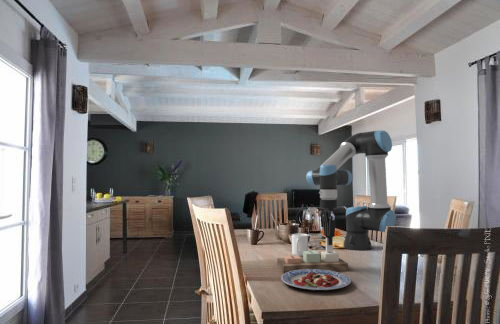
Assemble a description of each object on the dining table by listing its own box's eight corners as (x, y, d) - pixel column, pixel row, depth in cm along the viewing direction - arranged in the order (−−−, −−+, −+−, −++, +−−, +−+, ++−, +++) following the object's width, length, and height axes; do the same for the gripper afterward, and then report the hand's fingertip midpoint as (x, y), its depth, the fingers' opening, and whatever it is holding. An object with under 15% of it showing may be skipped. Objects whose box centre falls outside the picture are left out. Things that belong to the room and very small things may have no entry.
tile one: (334, 260, 156) (333, 250, 156) (338, 263, 150) (338, 253, 151) (321, 261, 156) (321, 251, 156) (325, 264, 150) (325, 254, 150)
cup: (309, 253, 181) (308, 233, 182) (305, 258, 170) (305, 237, 170) (293, 252, 184) (293, 233, 184) (289, 257, 172) (288, 236, 173)
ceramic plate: (303, 270, 148) (303, 263, 148) (361, 281, 131) (361, 273, 131) (267, 285, 128) (267, 277, 128) (331, 301, 111) (331, 291, 112)
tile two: (315, 260, 155) (315, 250, 156) (320, 263, 149) (319, 253, 150) (303, 261, 155) (302, 250, 155) (306, 264, 149) (306, 253, 149)
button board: (336, 262, 160) (336, 256, 161) (348, 270, 147) (347, 263, 147) (277, 264, 157) (277, 258, 157) (283, 273, 143) (283, 265, 144)
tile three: (297, 265, 154) (297, 255, 155) (301, 268, 148) (300, 258, 149) (284, 265, 154) (284, 255, 154) (287, 269, 148) (287, 258, 148)
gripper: (316, 198, 160) (316, 249, 159) (325, 199, 147) (326, 255, 146) (331, 198, 161) (332, 248, 160) (342, 199, 148) (343, 254, 147)
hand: (329, 251), depth 153 cm, fingers closed
